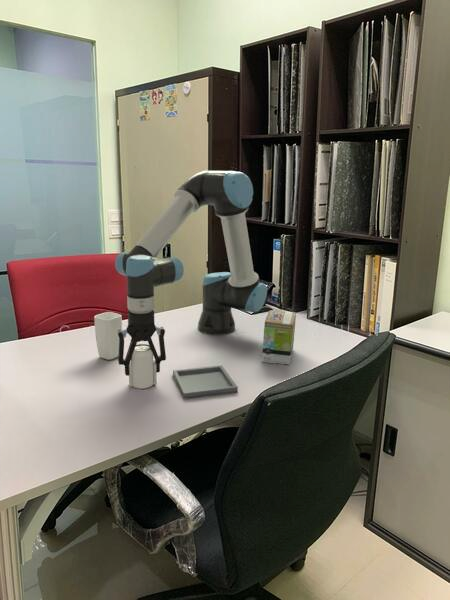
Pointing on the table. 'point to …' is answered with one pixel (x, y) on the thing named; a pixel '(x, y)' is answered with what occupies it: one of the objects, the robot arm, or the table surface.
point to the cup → (108, 334)
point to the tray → (204, 382)
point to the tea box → (278, 337)
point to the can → (142, 367)
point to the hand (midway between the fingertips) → (142, 383)
